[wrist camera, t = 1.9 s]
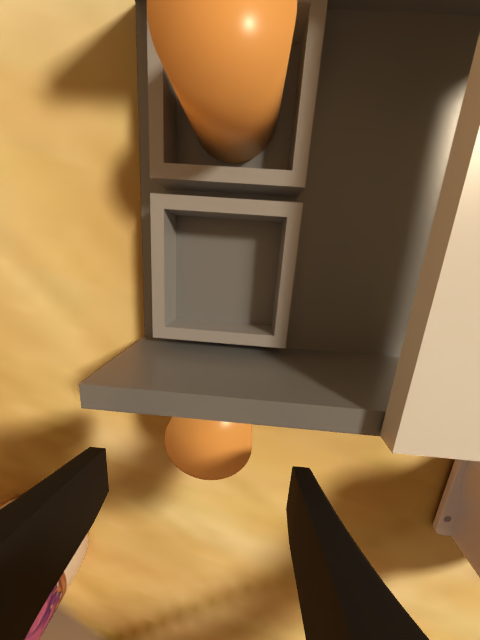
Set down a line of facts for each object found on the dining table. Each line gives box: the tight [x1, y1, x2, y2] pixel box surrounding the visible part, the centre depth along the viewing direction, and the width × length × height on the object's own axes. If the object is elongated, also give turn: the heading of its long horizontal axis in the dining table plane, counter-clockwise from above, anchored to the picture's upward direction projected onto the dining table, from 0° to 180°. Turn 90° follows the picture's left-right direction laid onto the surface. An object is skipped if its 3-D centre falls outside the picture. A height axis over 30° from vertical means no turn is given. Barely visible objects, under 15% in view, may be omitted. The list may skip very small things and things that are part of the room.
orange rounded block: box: [164, 417, 252, 480], centre depth 14 cm, size 4×4×5 cm
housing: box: [79, 0, 480, 436], centre depth 10 cm, size 17×18×7 cm
